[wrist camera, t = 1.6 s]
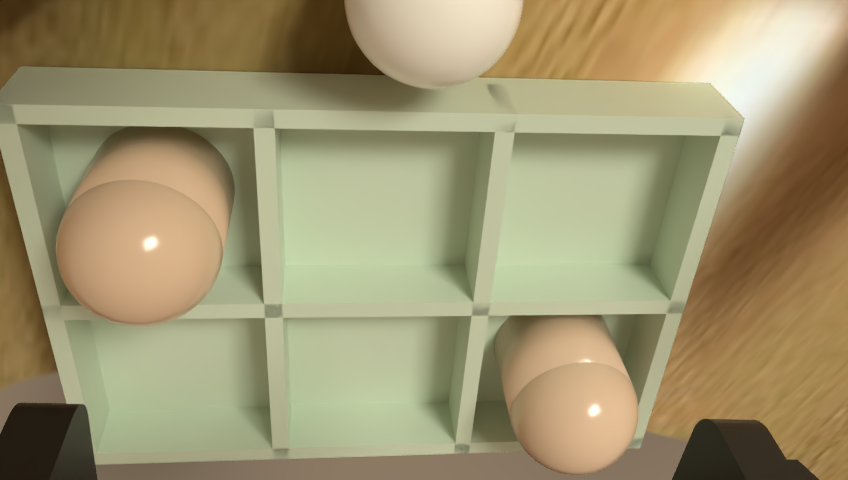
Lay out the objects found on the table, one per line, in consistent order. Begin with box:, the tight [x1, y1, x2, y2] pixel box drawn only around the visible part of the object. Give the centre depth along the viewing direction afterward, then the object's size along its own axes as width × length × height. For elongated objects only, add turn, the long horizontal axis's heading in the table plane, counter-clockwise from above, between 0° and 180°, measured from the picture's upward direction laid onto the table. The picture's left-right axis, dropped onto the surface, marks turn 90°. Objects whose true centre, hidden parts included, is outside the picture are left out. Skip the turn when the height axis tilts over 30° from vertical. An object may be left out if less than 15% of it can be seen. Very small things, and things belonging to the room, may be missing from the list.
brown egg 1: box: [56, 126, 235, 327], centre depth 24 cm, size 5×5×6 cm
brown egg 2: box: [494, 315, 639, 475], centre depth 29 cm, size 5×5×6 cm
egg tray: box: [0, 66, 745, 465], centre depth 28 cm, size 15×22×3 cm
